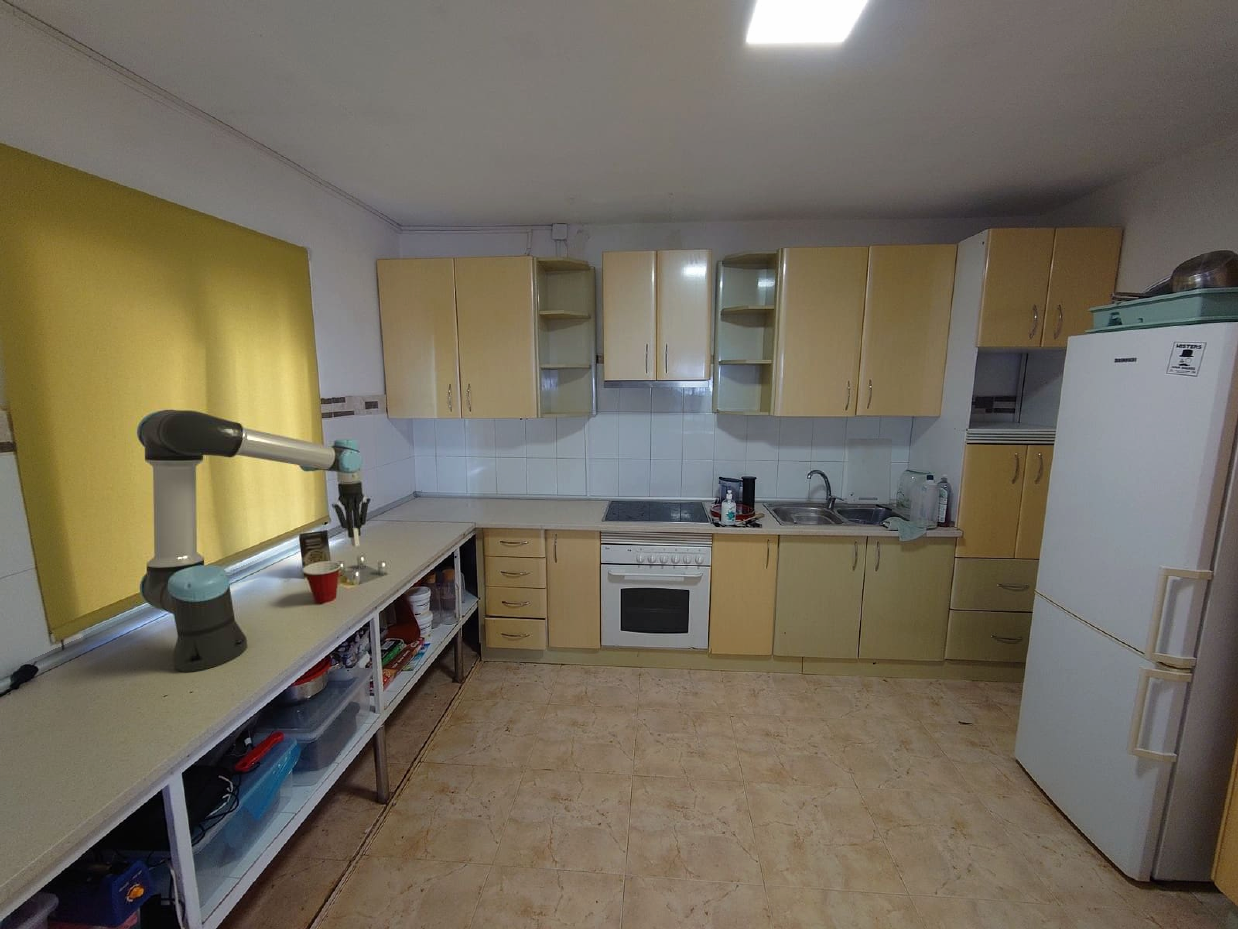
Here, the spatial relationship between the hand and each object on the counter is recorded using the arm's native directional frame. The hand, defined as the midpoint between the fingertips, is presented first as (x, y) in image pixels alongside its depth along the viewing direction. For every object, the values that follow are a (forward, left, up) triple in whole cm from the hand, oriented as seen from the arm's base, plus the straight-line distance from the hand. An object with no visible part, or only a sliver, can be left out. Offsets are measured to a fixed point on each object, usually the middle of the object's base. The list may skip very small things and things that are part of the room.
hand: (355, 545), depth 179 cm
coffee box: (-7, +15, -12) cm, 21 cm away
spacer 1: (-3, +7, -12) cm, 14 cm away
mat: (0, 0, -12) cm, 12 cm away
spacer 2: (-4, -7, -12) cm, 15 cm away
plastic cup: (-16, -11, -12) cm, 23 cm away
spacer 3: (+5, +7, -12) cm, 15 cm away
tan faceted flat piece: (-7, 0, -12) cm, 13 cm away
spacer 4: (+6, -6, -12) cm, 15 cm away
